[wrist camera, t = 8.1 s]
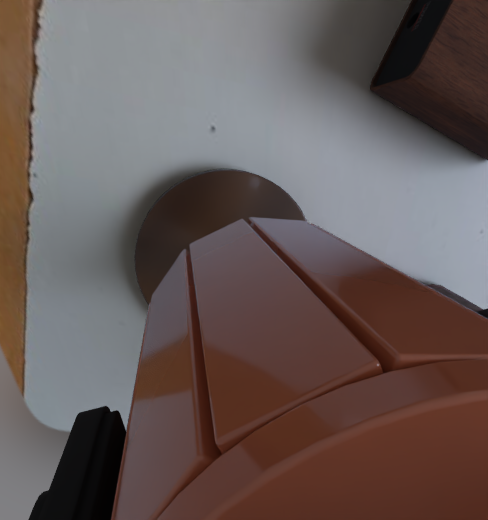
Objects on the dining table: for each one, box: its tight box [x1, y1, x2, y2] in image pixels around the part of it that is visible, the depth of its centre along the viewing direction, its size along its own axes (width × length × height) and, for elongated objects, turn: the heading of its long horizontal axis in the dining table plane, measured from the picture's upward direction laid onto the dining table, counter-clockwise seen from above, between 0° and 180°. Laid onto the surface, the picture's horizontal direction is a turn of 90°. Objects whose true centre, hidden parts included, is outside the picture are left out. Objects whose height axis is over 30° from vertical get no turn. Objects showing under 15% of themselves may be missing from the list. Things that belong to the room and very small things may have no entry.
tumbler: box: [111, 217, 488, 520], centre depth 9 cm, size 7×7×9 cm
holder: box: [135, 169, 307, 305], centre depth 25 cm, size 13×13×10 cm
